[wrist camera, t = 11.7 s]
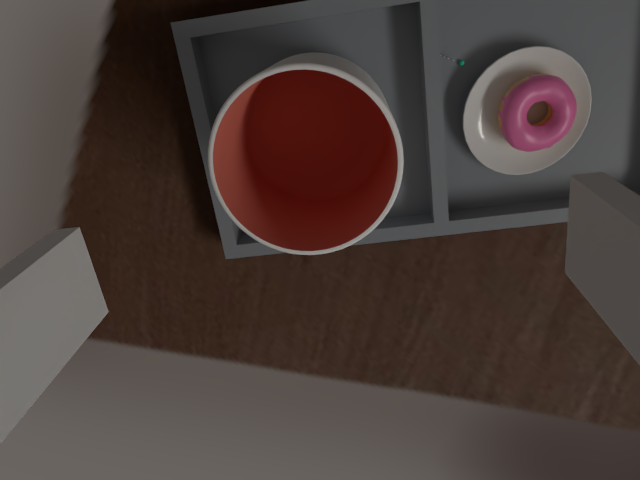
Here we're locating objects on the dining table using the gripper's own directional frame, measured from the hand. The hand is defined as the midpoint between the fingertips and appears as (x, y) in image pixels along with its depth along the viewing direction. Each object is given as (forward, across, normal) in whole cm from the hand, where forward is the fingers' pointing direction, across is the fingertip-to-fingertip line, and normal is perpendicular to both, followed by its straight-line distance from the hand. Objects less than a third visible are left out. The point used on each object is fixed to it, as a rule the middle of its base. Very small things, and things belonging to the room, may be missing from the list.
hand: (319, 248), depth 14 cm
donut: (+23, +11, -1) cm, 25 cm away
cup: (+23, -2, -1) cm, 23 cm away
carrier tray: (+23, +6, -1) cm, 24 cm away
